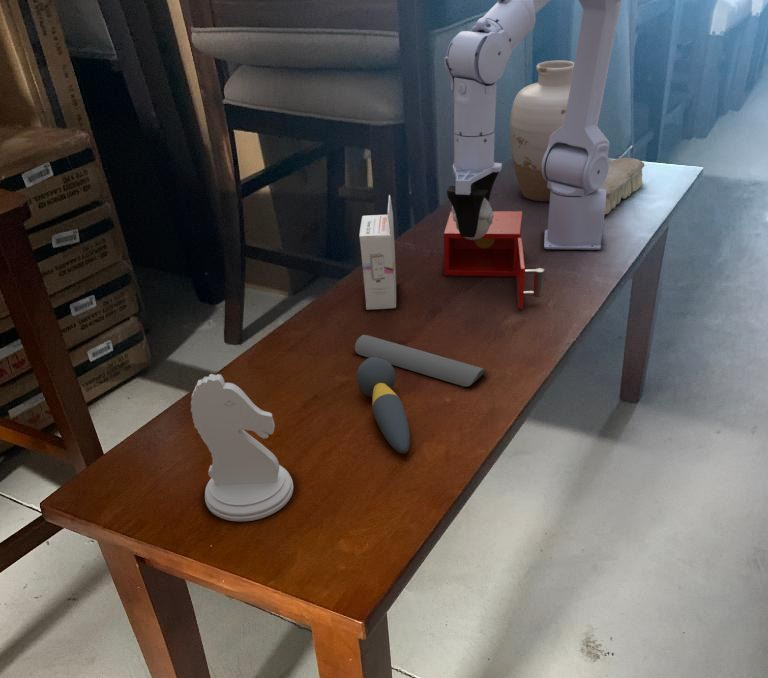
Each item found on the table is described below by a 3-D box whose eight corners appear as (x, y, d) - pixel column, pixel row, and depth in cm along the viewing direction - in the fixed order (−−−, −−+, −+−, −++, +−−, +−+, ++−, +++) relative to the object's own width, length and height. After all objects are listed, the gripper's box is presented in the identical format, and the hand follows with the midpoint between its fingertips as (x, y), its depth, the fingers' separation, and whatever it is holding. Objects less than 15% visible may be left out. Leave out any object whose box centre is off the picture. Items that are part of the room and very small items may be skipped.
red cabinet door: (515, 275, 125) (517, 237, 121) (538, 275, 124) (541, 237, 120) (518, 308, 116) (520, 268, 112) (542, 308, 115) (546, 268, 111)
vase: (490, 197, 155) (494, 68, 140) (536, 176, 163) (544, 52, 148) (558, 212, 146) (569, 77, 131) (602, 189, 154) (618, 59, 140)
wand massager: (435, 453, 90) (434, 417, 86) (394, 463, 89) (392, 427, 86) (385, 373, 104) (382, 340, 101) (349, 381, 103) (346, 347, 100)
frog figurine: (475, 227, 122) (476, 181, 117) (502, 240, 117) (504, 192, 112) (443, 236, 119) (442, 189, 115) (469, 250, 115) (469, 202, 110)
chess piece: (289, 519, 82) (267, 399, 72) (198, 524, 83) (164, 405, 73) (297, 464, 90) (277, 348, 80) (213, 468, 90) (184, 354, 80)
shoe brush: (603, 222, 141) (607, 194, 138) (565, 216, 144) (568, 189, 141) (648, 183, 156) (652, 156, 152) (612, 178, 159) (615, 152, 156)
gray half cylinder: (472, 390, 100) (472, 378, 99) (352, 353, 109) (351, 342, 108) (488, 375, 102) (488, 363, 101) (370, 341, 112) (369, 329, 110)
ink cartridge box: (366, 287, 126) (359, 194, 116) (397, 285, 125) (392, 192, 116) (364, 310, 119) (356, 214, 110) (396, 309, 119) (391, 213, 109)
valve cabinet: (520, 252, 133) (522, 211, 128) (517, 276, 125) (519, 233, 121) (450, 251, 135) (450, 211, 130) (444, 275, 127) (443, 233, 123)
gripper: (492, 147, 102) (489, 247, 111) (512, 118, 112) (507, 212, 121) (440, 145, 104) (441, 244, 113) (464, 117, 114) (464, 210, 123)
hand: (472, 228), depth 117 cm, fingers closed on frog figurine, 6 cm apart
